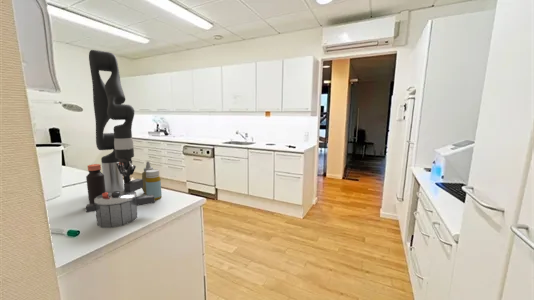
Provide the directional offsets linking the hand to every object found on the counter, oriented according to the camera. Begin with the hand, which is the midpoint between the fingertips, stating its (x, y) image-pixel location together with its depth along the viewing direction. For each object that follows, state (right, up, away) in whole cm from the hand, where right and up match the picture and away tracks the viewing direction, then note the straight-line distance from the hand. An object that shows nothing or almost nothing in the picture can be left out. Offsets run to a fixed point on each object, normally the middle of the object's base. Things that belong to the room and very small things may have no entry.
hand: (127, 183), depth 110 cm
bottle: (+8, -10, +11) cm, 17 cm away
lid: (+5, -4, -12) cm, 13 cm away
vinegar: (-15, -11, +1) cm, 18 cm away
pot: (+6, -13, -13) cm, 19 cm away
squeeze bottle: (+1, -8, +19) cm, 21 cm away
